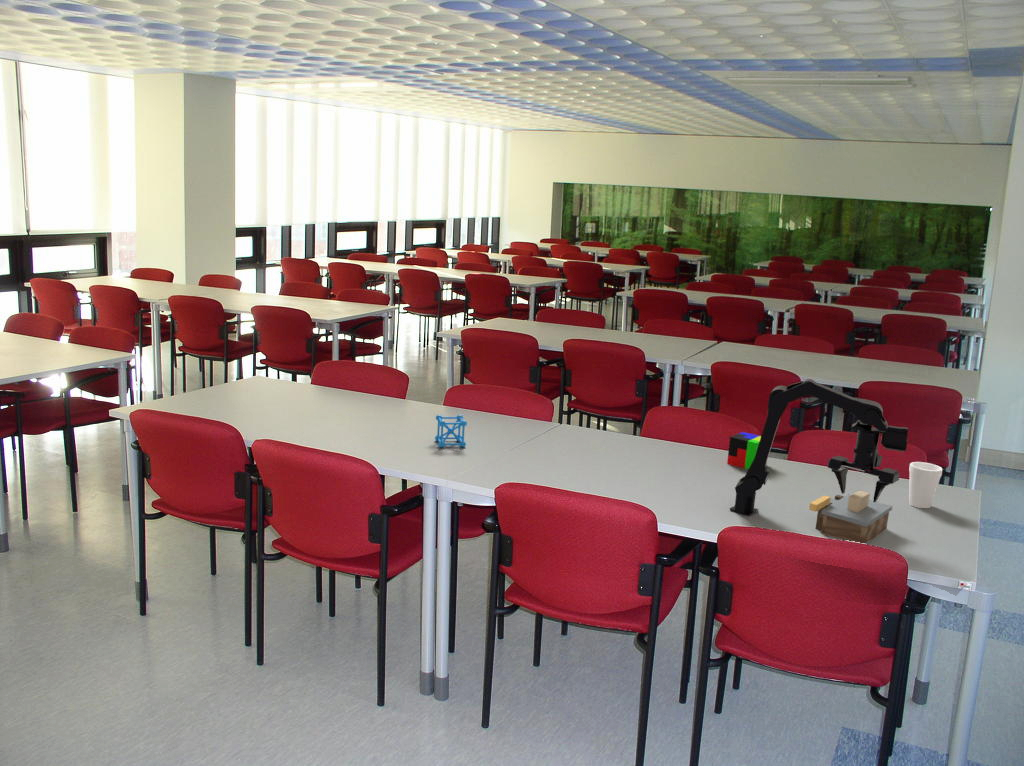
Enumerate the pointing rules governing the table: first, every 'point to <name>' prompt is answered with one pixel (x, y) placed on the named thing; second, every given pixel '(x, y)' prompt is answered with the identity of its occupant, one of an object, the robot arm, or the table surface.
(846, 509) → the lid
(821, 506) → the yellow wooden bar
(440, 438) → the molecular structure
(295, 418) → the table surface
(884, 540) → the table surface
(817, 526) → the brown wooden box
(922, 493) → the foam cup
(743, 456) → the puzzle toy
